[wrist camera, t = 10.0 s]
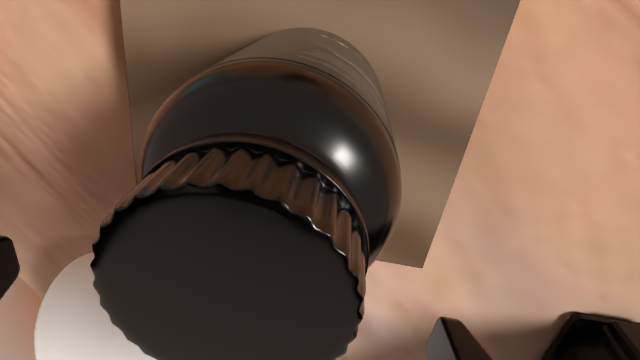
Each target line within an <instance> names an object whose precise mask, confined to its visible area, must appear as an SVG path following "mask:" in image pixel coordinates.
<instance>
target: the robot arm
mask: <svg viewBox="0 0 640 360" xmlns="http://www.w3.org/2000/svg"><path fill="white" fill-rule="evenodd" d="M19 271H20V266H19V262H18V258H17V255H16V251H15V248H14V244H13V242H12V240H11V239H10V238H8V237H6V236H1V235H0V300H1V298H2V297H3V296H4V294H5V293H6V292H7V290H8V289H9V288H10V286H11V285H12V284H13V283H14V281H15V280H16V278H17V276H18V274H19ZM426 360H493V359H492V358H491V356H490V355H489V354H488V353H487V352H486V350H485V349H484V348H483V347H482V346H481V344H480V343H479V342H478V341H477V340H476V338H475V337H474V336H473V335H472V334H471V333H470V331H469V330H468V329H467V328H466V327H465V325H464V324H463V323H462V322H461V321H459V320H457V319H452V318H446V317H440V318H439V319H438V320H437V321H436V324H435V326H434V328H433V330H432V333H431V335H430V337H429V340H428V342H427V346H426ZM542 360H640V324H637V323H632V322H626V321H620V320H615V319H609V318H603V317H598V316H592V315H587V314H579V313H578V314H574V315H572V316H571V317H570V318H569V320H568V321H567V323H566V324H565V326H564V327H563V329H562V330H561V332H560V333H559V335H558V336H557V338H556V339H555V341H554V342H553V344H552V345H551V347H550V348H549V350H548V351H547V353H546V354H545V356H544V357H543V359H542Z"/></svg>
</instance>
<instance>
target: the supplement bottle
mask: <svg viewBox="0 0 640 360" xmlns="http://www.w3.org/2000/svg"><path fill="white" fill-rule="evenodd" d="M401 201H402V182H401V170H400V164H399V159H398V154H397V150H396V146H395V142H394V138H393V134H392V130H391V126H390V122H389V118H388V113H387V109H386V105H385V101H384V97H383V93H382V90H381V87H380V84H379V81H378V78H377V76H376V74H375V72H374V70H373V68H372V66H371V65H370V63H369V62H368V60H367V59H366V58H365V57H364V55H363V54H362V53H361V52H360V51H359V50H358V49H357V48H356V47H355V46H353V45H352V44H351V43H350V42H348V41H346V40H345V39H343V38H342V37H340V36H338V35H336V34H333V33H331V32H328V31H325V30H321V29H315V28H304V27H301V28H291V29H285V30H282V31H278V32H275V33H273V34H271V35H268V36H266V37H264V38H262V39H260V40H258V41H257V42H255V43H253V44H251V45H249V46H247V47H246V48H244V49H242V50H240V51H238V52H237V53H235V54H233V55H231V56H229V57H227V58H226V59H224V60H222V61H220V62H218V63H217V64H215V65H213V66H211V67H209V68H208V69H206V70H204V71H202V72H200V73H199V74H197V75H195V76H194V77H192V78H191V79H190V80H188V81H187V82H185V83H184V84H183V85H181V86H180V87H179V88H178V89H177V90H175V91H174V92H173V93H172V94H171V95H170V96H169V97H168V98H167V99H166V100H165V102H164V103H163V104H162V105H161V106H160V108H159V109H158V111H157V112H156V114H155V115H154V117H153V119H152V121H151V123H150V125H149V127H148V129H147V131H146V134H145V137H144V140H143V144H142V148H141V153H140V161H139V183H138V185H137V186H136V187H135V188H133V189H132V190H131V191H130V192H129V193H128V194H127V195H126V196H125V197H124V198H122V199H121V200H120V201H119V203H118V204H117V205H116V207H115V209H114V211H113V212H112V213H111V214H109V215H108V216H107V217H106V218H105V220H104V221H103V222H102V224H101V226H100V235H99V236H98V237H97V239H96V240H95V241H94V243H93V245H92V247H93V253H94V258H93V260H92V262H91V264H90V267H91V269H92V272H93V274H94V276H95V279H94V281H93V287H94V288H95V290H96V291H97V293H98V294H99V296H100V305H101V306H102V308H103V309H104V310H105V311H106V312H107V313H108V314H109V317H110V320H111V322H112V324H113V325H115V326H116V327H117V328H119V329H120V330H121V331H122V332H123V334H124V336H125V337H126V339H127V340H129V341H130V342H132V343H134V344H135V345H137V346H138V347H139V348H140V349H141V350H142V352H143V353H144V354H146V355H148V356H150V357H153V358H155V359H157V360H335V359H336V358H338V357H340V356H342V355H344V354H345V353H346V350H347V347H348V344H349V343H350V342H352V341H353V340H354V339H355V338H356V336H357V332H358V325H359V323H360V322H361V320H362V319H363V315H364V296H365V292H366V280H365V276H366V273H367V269H368V267H370V266H371V265H372V263H373V262H374V261H375V260H376V259H377V258H378V256H379V255H380V254H381V252H382V251H383V250H384V248H385V247H386V245H387V243H388V241H389V240H390V238H391V236H392V234H393V231H394V229H395V226H396V224H397V220H398V216H399V213H400V207H401Z"/></svg>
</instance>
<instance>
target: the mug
mask: <svg viewBox="0 0 640 360" xmlns="http://www.w3.org/2000/svg"><path fill="white" fill-rule="evenodd" d="M93 258H94V253H89V254H86V255H83V256H81V257H79V258H77V259H75V260H74V261H72V262H71V263H70V264H68V265H67V266H66V267H65V268H64V269H63V270H62V271H61V272H60V273H59V274H58V275H57V277H56V278H55V279H54V281H53V282H52V284H51V285H50V287H49V288H48V290H47V292H46V294H45V296H44V298H43V300H42V303H41V306H40V309H39V312H38V315H37V319H36V325H35V333H34V350H35V357H36V360H157V359H155V358H153V357H150V356H148V355H146V354H144V353H143V352H142V350H141V349H140V348H139V347H138V346H137V345H135V344H134V343H132V342H130V341H129V340H127V339H126V337H125V336H124V334H123V332H122V331H121V330H120V329H119V328H117V327H116V326H115V325H113V324H112V322H111V320H110V317H109V314H108V313H107V312H106V311H105V310H104V309H103V308H102V306H101V305H100V296H99V294H98V293H97V291H96V290H95V288H94V287H93V281H94V279H95V276H94V274H93V272H92V269H91V267H90V264H91V262H92V260H93Z"/></svg>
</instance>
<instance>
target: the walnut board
mask: <svg viewBox="0 0 640 360" xmlns="http://www.w3.org/2000/svg"><path fill="white" fill-rule="evenodd" d="M519 3H520V0H120V7H121V18H122V29H123V40H124V51H125V62H126V73H127V84H128V95H129V106H130V117H131V128H132V140H133V151H134V162H135V173H136V184H137V185H138V183H139V161H140V153H141V148H142V144H143V140H144V137H145V134H146V131H147V129H148V127H149V125H150V123H151V121H152V119H153V117H154V115H155V114H156V112H157V111H158V109H159V108H160V106H161V105H162V104H163V103H164V102H165V100H166V99H167V98H168V97H169V96H170V95H171V94H172V93H173V92H174V91H175V90H177V89H178V88H179V87H180V86H181V85H183V84H184V83H185V82H187V81H188V80H190V79H191V78H192V77H194V76H195V75H197V74H199V73H200V72H202V71H204V70H206V69H208V68H209V67H211V66H213V65H215V64H217V63H218V62H220V61H222V60H224V59H226V58H227V57H229V56H231V55H233V54H235V53H237V52H238V51H240V50H242V49H244V48H246V47H247V46H249V45H251V44H253V43H255V42H257V41H258V40H260V39H262V38H264V37H266V36H268V35H271V34H273V33H275V32H278V31H282V30H285V29H291V28H301V27H304V28H315V29H321V30H325V31H328V32H331V33H333V34H336V35H338V36H340V37H342V38H343V39H345V40H346V41H348V42H350V43H351V44H352V45H353V46H355V47H356V48H357V49H358V50H359V51H360V52H361V53H362V54H363V55H364V57H365V58H366V59H367V60H368V62H369V63H370V65H371V66H372V68H373V70H374V72H375V74H376V76H377V78H378V81H379V84H380V87H381V90H382V93H383V97H384V101H385V105H386V109H387V113H388V118H389V122H390V126H391V130H392V134H393V138H394V142H395V146H396V150H397V154H398V159H399V164H400V170H401V182H402V201H401V207H400V213H399V216H398V220H397V224H396V226H395V229H394V231H393V234H392V236H391V238H390V240H389V241H388V243H387V245H386V247H385V248H384V250H383V251H382V252H381V254H380V255H379V256H378V258H377V259H376V260H378V261H384V262H389V263H395V264H401V265H406V266H412V267H417V268H423V265H424V262H425V260H426V257H427V254H428V251H429V249H430V246H431V243H432V240H433V238H434V235H435V232H436V229H437V227H438V224H439V221H440V219H441V216H442V213H443V210H444V208H445V205H446V202H447V199H448V197H449V194H450V191H451V188H452V186H453V183H454V180H455V178H456V175H457V172H458V169H459V167H460V164H461V161H462V158H463V156H464V153H465V150H466V148H467V145H468V142H469V139H470V137H471V134H472V131H473V128H474V126H475V123H476V120H477V117H478V115H479V112H480V109H481V107H482V104H483V101H484V98H485V96H486V93H487V90H488V87H489V85H490V82H491V79H492V77H493V74H494V71H495V68H496V66H497V63H498V60H499V57H500V55H501V52H502V49H503V46H504V44H505V41H506V38H507V36H508V33H509V30H510V27H511V25H512V22H513V19H514V16H515V14H516V11H517V8H518V6H519Z"/></svg>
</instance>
